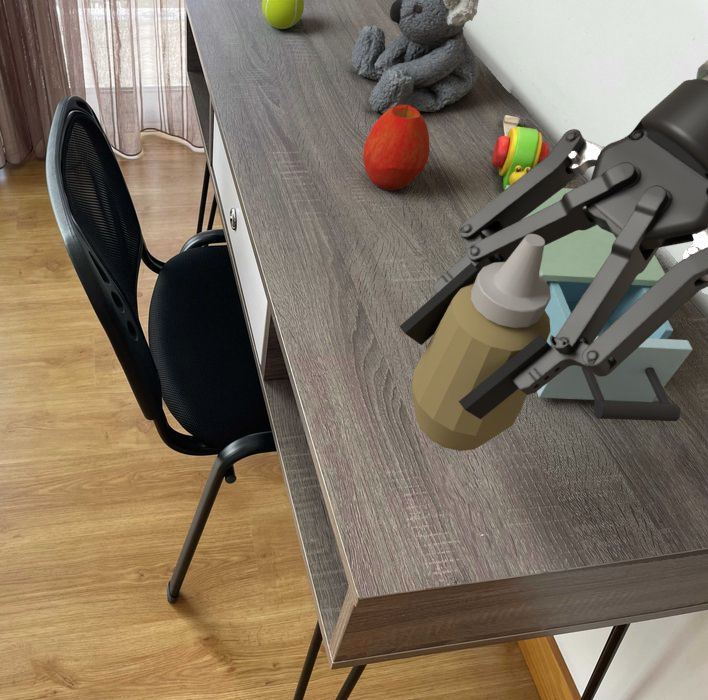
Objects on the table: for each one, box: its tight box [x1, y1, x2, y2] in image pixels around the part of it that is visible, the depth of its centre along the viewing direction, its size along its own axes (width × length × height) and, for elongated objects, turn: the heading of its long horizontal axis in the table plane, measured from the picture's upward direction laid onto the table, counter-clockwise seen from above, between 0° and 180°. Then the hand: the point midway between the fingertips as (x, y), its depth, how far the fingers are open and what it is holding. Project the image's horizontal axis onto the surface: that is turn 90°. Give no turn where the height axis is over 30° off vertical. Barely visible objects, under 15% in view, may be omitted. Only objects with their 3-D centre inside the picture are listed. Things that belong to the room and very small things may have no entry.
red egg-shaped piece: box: [362, 105, 430, 191], centre depth 92 cm, size 8×8×11 cm
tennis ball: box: [261, 0, 305, 30], centre depth 122 cm, size 7×7×7 cm
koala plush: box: [351, 0, 480, 115], centre depth 106 cm, size 17×18×20 cm
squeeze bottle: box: [411, 234, 551, 452], centre depth 50 cm, size 8×8×18 cm
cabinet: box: [505, 185, 666, 288], centre depth 79 cm, size 15×13×10 cm
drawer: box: [536, 281, 693, 423], centre depth 72 cm, size 19×11×8 cm, turn 0°
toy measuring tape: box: [491, 114, 550, 191], centre depth 99 cm, size 6×20×7 cm, turn 167°
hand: (439, 371), depth 50 cm, fingers closed on squeeze bottle, 6 cm apart
